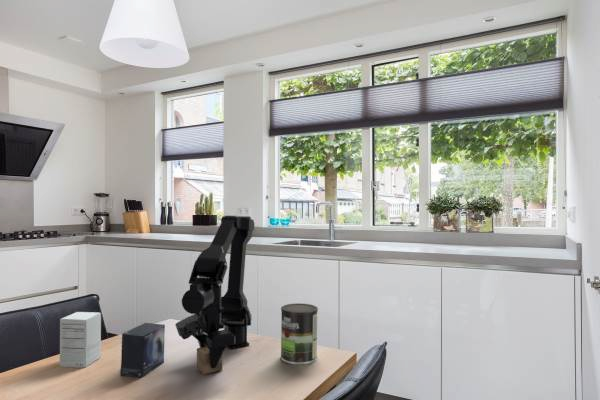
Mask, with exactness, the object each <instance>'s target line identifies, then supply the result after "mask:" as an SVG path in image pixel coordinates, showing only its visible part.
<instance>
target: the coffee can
mask: <svg viewBox="0 0 600 400" xmlns="http://www.w3.org/2000/svg"><path fill="white" fill-rule="evenodd" d="M280 311H281V332H280V333H281V334H280V335H281V336H280V338H281V339H280V340H281V341H280V344H281V345H280V360H281V361H282V362H284V363H286V364H289V365H293V366H294V365H296V366H297V365H298V366H303V365H305V366H306V365H310V364H312V363H314V362H316V361H317V359H318V357H317V356H318V355H317V354H318V311H319V308H318V306H317V305H313V304H310V303H289V304H285V305H282V306H281V307H280Z"/></svg>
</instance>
